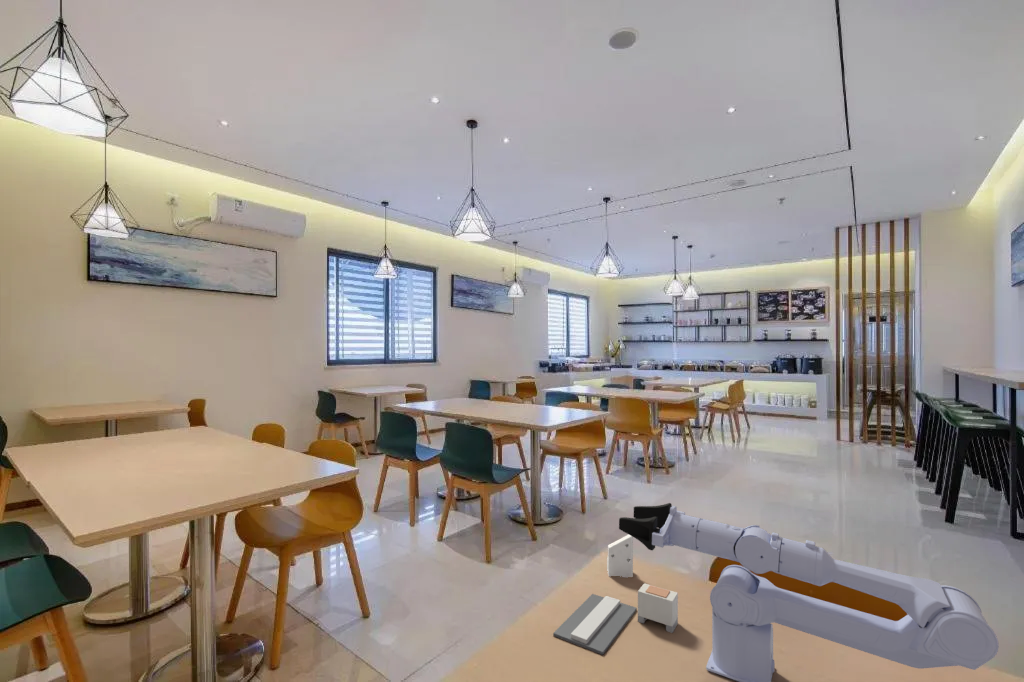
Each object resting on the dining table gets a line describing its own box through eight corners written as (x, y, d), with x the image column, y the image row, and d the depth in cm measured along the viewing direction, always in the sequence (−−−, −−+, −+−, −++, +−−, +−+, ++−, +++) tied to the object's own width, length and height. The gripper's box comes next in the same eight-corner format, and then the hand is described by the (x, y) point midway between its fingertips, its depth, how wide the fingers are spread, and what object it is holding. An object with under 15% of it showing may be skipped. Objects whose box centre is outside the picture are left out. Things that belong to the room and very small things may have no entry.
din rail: (636, 610, 98) (636, 603, 98) (602, 655, 83) (602, 647, 83) (592, 596, 103) (592, 590, 103) (553, 635, 88) (553, 628, 88)
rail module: (677, 623, 93) (677, 591, 93) (672, 633, 90) (672, 600, 90) (644, 612, 97) (644, 582, 97) (637, 621, 93) (637, 590, 94)
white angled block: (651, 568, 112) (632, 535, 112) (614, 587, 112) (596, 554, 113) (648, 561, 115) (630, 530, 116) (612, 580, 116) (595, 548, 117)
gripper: (709, 501, 90) (640, 488, 98) (689, 525, 78) (613, 507, 86) (708, 538, 90) (639, 521, 98) (688, 567, 78) (612, 545, 86)
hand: (627, 517), depth 92 cm, fingers open, 7 cm apart
